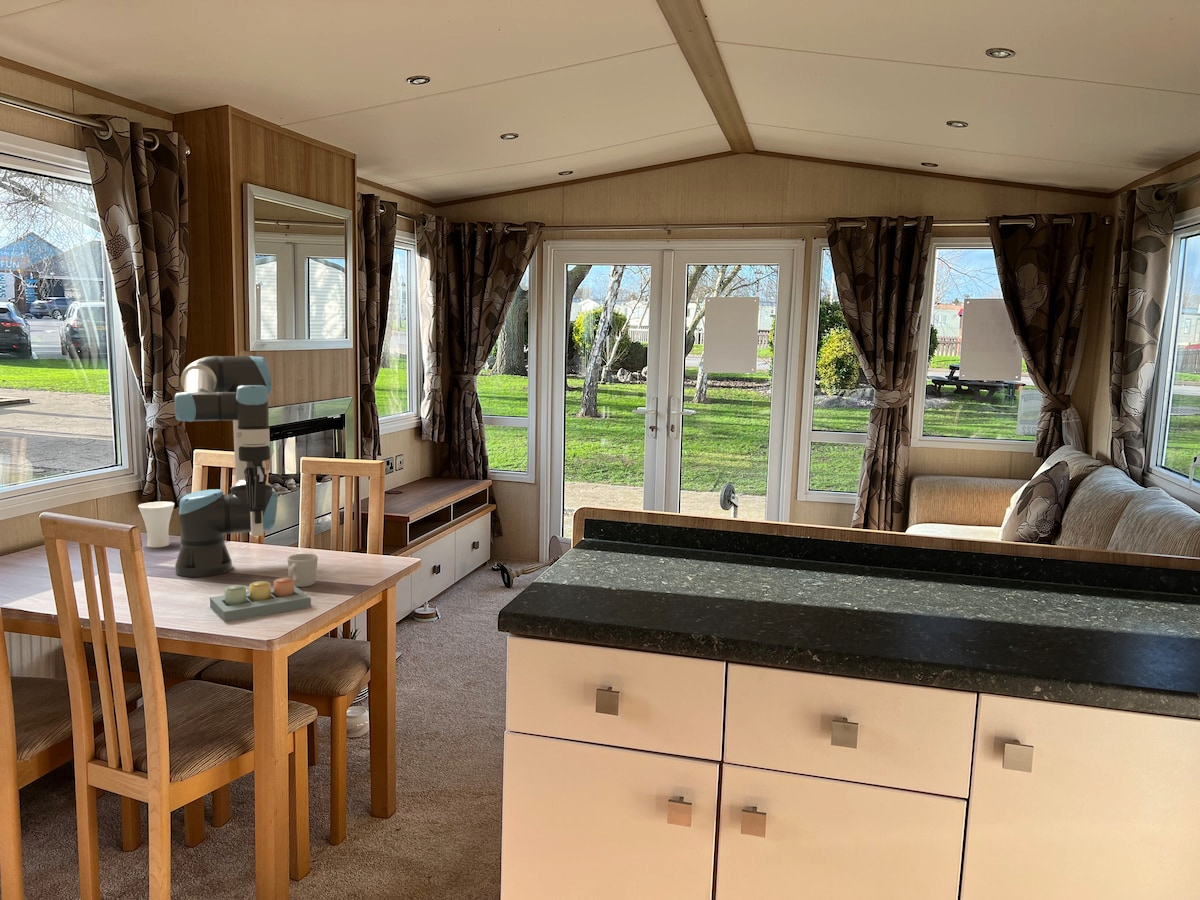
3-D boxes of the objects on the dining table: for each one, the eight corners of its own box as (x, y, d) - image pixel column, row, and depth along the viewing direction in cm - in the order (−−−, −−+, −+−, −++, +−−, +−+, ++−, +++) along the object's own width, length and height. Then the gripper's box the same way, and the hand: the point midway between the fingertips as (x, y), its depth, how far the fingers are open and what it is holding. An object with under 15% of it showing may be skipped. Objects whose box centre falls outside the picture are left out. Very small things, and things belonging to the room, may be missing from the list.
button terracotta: (271, 594, 227) (270, 578, 227) (290, 591, 230) (290, 576, 230) (277, 599, 223) (276, 583, 223) (297, 595, 226) (296, 580, 226)
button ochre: (247, 598, 224) (246, 582, 223) (267, 594, 227) (267, 579, 226) (253, 603, 220) (252, 587, 219) (273, 599, 223) (272, 584, 222)
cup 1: (132, 548, 280) (130, 506, 278) (154, 540, 290) (152, 500, 288) (162, 550, 278) (160, 508, 276) (183, 542, 288) (181, 502, 286)
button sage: (222, 602, 220) (222, 586, 219) (243, 598, 223) (242, 583, 222) (228, 607, 216) (227, 591, 216) (248, 603, 219) (248, 587, 219)
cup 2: (303, 592, 236) (302, 564, 235) (276, 590, 238) (275, 562, 237) (323, 582, 247) (323, 554, 246) (298, 579, 248) (297, 552, 247)
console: (210, 607, 223) (209, 597, 222) (293, 593, 235) (292, 584, 235) (224, 622, 212) (224, 611, 211) (310, 607, 224) (310, 597, 224)
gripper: (232, 444, 228) (236, 533, 230) (245, 448, 217) (248, 541, 220) (262, 442, 232) (265, 529, 234) (276, 446, 222) (279, 537, 224)
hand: (257, 535), depth 227 cm, fingers closed
